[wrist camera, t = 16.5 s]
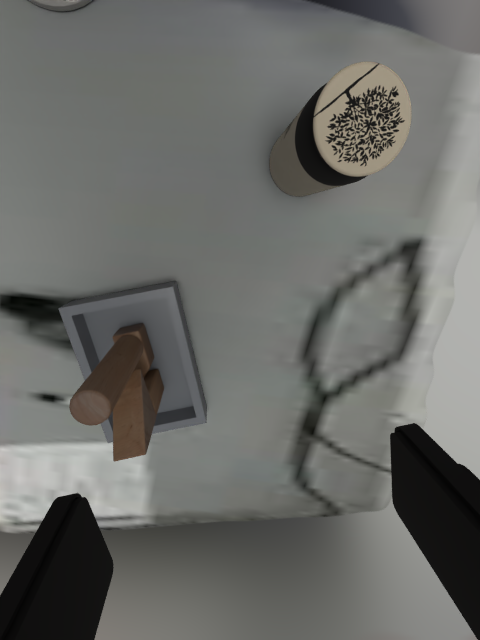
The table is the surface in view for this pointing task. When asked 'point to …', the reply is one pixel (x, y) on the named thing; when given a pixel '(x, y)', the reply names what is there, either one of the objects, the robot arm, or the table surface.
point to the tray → (165, 338)
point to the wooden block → (123, 392)
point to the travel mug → (343, 131)
